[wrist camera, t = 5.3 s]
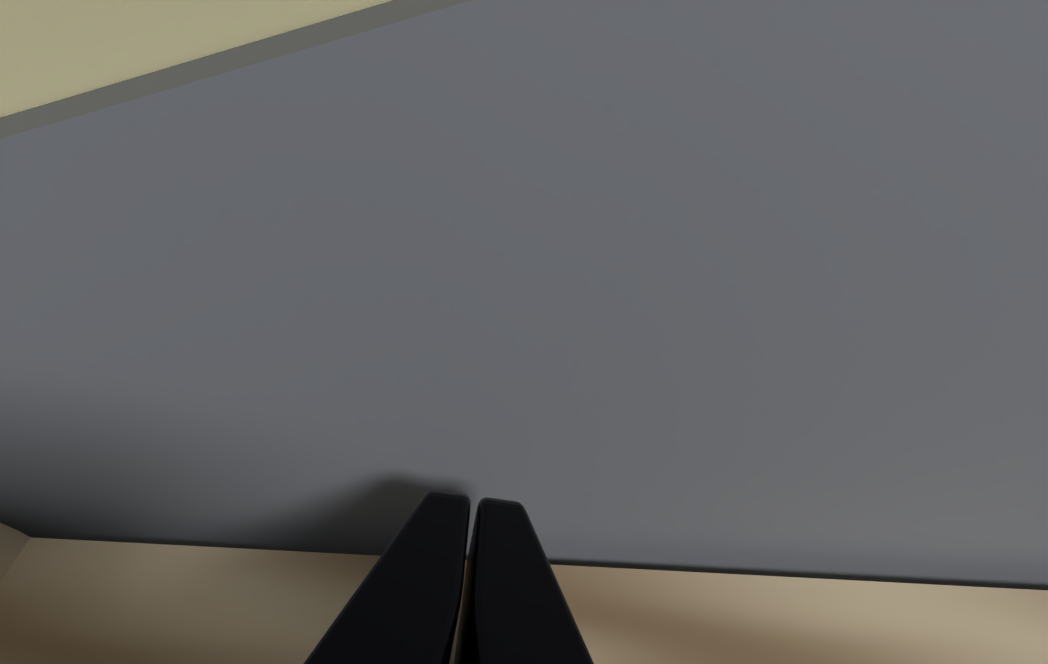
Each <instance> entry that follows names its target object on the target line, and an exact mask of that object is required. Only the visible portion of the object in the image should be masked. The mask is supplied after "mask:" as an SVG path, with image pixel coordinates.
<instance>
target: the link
mask: <svg viewBox="0 0 1048 664" xmlns="http://www.w3.org/2000/svg"><path fill="white" fill-rule="evenodd" d="M379 558H380V556H377V555H358V554H338V553H319V552H300V551H281V550H262V549H242V548H223V547H204V546H185V545H166V544H146V543H127V542H108V541H89V540H70V539H50V538H31V537H29V536H27V535H25V534H24V533H22V532H20V531H18V530H16V529H13V528H11V527H9V526H7V525H4V524H2V523H0V664H303V663H304V662H305V661H306V659H307V658H308V656H309V655H310V654H311V652H312V651H313V650H314V648H315V647H316V645H317V644H318V643H319V641H320V640H321V638H322V637H323V636H324V634H325V633H326V631H327V630H328V629H329V627H330V626H331V624H332V623H333V622H334V620H335V619H336V618H337V616H338V615H339V613H340V612H341V611H342V609H343V608H344V606H345V605H346V604H347V602H348V601H349V599H350V598H351V597H352V595H353V594H354V592H355V591H356V590H357V588H358V587H359V586H360V584H361V583H362V581H363V580H364V579H365V577H366V576H367V574H368V573H369V572H370V570H371V569H372V567H373V566H374V565H375V563H376V562H377V560H378V559H379ZM466 565H467V560H466V561H465V571H464V579H465V572H466ZM550 566H551V568H552V570H553V572H554V575H555V577H556V579H557V581H558V584H559V586H560V588H561V590H562V593H563V595H564V597H565V599H566V602H567V604H568V606H569V608H570V611H571V613H572V615H573V617H574V620H575V622H576V624H577V626H578V629H579V631H580V633H581V635H582V638H583V640H584V642H585V644H586V647H587V649H588V651H589V653H590V656H591V658H592V660H593V662H594V664H1048V590H1029V589H1010V588H991V587H972V586H953V585H933V584H914V583H895V582H876V581H857V580H837V579H818V578H799V577H780V576H761V575H741V574H722V573H703V572H684V571H665V570H645V569H626V568H607V567H588V566H569V565H550ZM463 587H464V581H463ZM462 595H463V591H462ZM461 603H462V597H461ZM460 611H461V604H460V610H459V615H458V620H457V626H456V631H455V636H454V641H453V646H452V652H451V657H450V662H449V664H454V658H455V650H456V642H457V634H458V626H459V619H460Z"/></svg>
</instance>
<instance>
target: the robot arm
mask: <svg viewBox="0 0 1048 664" xmlns="http://www.w3.org/2000/svg"><path fill="white" fill-rule="evenodd" d="M470 508H471V500H470V498H469V497H468V496H467V495H465V494H461V493H453V492H446V491H439V490H431V491H429V492H428V493H426V494H425V495H424V497H423V498H422V499H421V501H420V502H419V503H418V505H417V506H416V508H415V509H414V510H413V512H412V513H411V515H410V516H409V517H408V519H407V520H406V522H405V523H404V524H403V526H402V527H401V528H400V530H399V531H398V533H397V534H396V535H395V537H394V538H393V540H392V541H391V542H390V544H389V545H388V547H387V548H386V549H385V551H384V552H383V554H382V555H381V556H380V558H379V559H378V560H377V562H376V563H375V565H374V566H373V567H372V569H371V570H370V572H369V573H368V574H367V576H366V577H365V579H364V580H363V581H362V583H361V584H360V586H359V587H358V588H357V590H356V591H355V592H354V594H353V595H352V597H351V598H350V599H349V601H348V602H347V604H346V605H345V606H344V608H343V609H342V611H341V612H340V613H339V615H338V616H337V618H336V619H335V620H334V622H333V623H332V624H331V626H330V627H329V629H328V630H327V631H326V633H325V634H324V636H323V637H322V638H321V640H320V641H319V643H318V644H317V645H316V647H315V648H314V650H313V651H312V652H311V654H310V655H309V656H308V658H307V659H306V661H305V662H304V663H303V664H449V662H450V657H451V652H452V646H453V641H454V636H455V631H456V626H457V620H458V615H459V610H460V604H461V611H460V619H459V626H458V634H457V642H456V650H455V658H454V664H594V662H593V660H592V658H591V656H590V653H589V651H588V649H587V647H586V644H585V642H584V640H583V638H582V635H581V633H580V631H579V629H578V626H577V624H576V622H575V620H574V617H573V615H572V613H571V611H570V608H569V606H568V604H567V602H566V599H565V597H564V595H563V593H562V590H561V588H560V586H559V584H558V581H557V579H556V577H555V575H554V572H553V570H552V568H551V566H550V563H549V561H548V559H547V557H546V554H545V552H544V550H543V548H542V545H541V543H540V541H539V539H538V536H537V534H536V532H535V530H534V527H533V525H532V523H531V521H530V518H529V516H528V514H527V512H526V510H525V508H524V506H523V505H522V504H521V503H519V502H517V501H511V500H504V499H496V498H489V497H485V498H482V499H481V500H480V501H479V503H478V506H477V511H476V516H475V522H474V527H473V532H472V537H471V542H470V548H469V553H468V559H467V565H466V572H465V579H464V571H465V561H466V550H467V540H468V529H469V519H470ZM463 581H464V587H463ZM462 591H463V595H462ZM461 597H462V603H461Z"/></svg>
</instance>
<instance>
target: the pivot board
mask: <svg viewBox="0 0 1048 664" xmlns="http://www.w3.org/2000/svg"><path fill="white" fill-rule="evenodd" d="M431 490H439V491H446V492H453V493H461V494H465V495H467V496H468V497H469V498H470V500H471V508H470V519H469V529H468V540H467V550H466V560H467V559H468V553H469V548H470V542H471V537H472V532H473V527H474V522H475V516H476V511H477V506H478V503H479V501H480V500H481V499H482V498H485V497H489V498H496V499H504V500H511V501H517V502H519V503H521V504H522V505H523V506H524V508H525V510H526V512H527V514H528V516H529V518H530V521H531V523H532V525H533V527H534V530H535V532H536V534H537V536H538V539H539V541H540V543H541V545H542V548H543V550H544V552H545V554H546V557H547V559H548V561H549V563H550V565H569V566H588V567H607V568H626V569H645V570H665V571H684V572H703V573H722V574H741V575H761V576H780V577H799V578H818V579H837V580H857V581H876V582H895V583H914V584H933V585H953V586H972V587H991V588H1010V589H1029V590H1048V0H393V1H390V2H386V3H383V4H380V5H376V6H373V7H370V8H366V9H363V10H360V11H356V12H353V13H350V14H346V15H343V16H339V17H336V18H333V19H329V20H326V21H323V22H319V23H316V24H313V25H309V26H306V27H303V28H299V29H296V30H293V31H289V32H286V33H283V34H279V35H276V36H273V37H269V38H266V39H263V40H259V41H256V42H253V43H249V44H246V45H243V46H239V47H236V48H232V49H229V50H226V51H222V52H219V53H216V54H212V55H209V56H206V57H202V58H199V59H196V60H192V61H189V62H186V63H182V64H179V65H176V66H172V67H169V68H166V69H162V70H159V71H156V72H152V73H149V74H146V75H142V76H139V77H135V78H132V79H129V80H125V81H122V82H119V83H115V84H112V85H109V86H105V87H102V88H99V89H95V90H92V91H89V92H85V93H82V94H79V95H75V96H72V97H69V98H65V99H62V100H59V101H55V102H52V103H49V104H45V105H42V106H39V107H35V108H32V109H28V110H25V111H22V112H18V113H15V114H12V115H8V116H5V117H2V118H0V523H2V524H4V525H7V526H9V527H11V528H13V529H16V530H18V531H20V532H22V533H24V534H25V535H27V536H29V537H31V538H50V539H70V540H89V541H108V542H127V543H146V544H166V545H185V546H204V547H223V548H242V549H262V550H281V551H300V552H319V553H338V554H358V555H377V556H381V555H382V554H383V552H384V551H385V549H386V548H387V547H388V545H389V544H390V542H391V541H392V540H393V538H394V537H395V535H396V534H397V533H398V531H399V530H400V528H401V527H402V526H403V524H404V523H405V522H406V520H407V519H408V517H409V516H410V515H411V513H412V512H413V510H414V509H415V508H416V506H417V505H418V503H419V502H420V501H421V499H422V498H423V497H424V495H425V494H426V493H428V492H429V491H431Z"/></svg>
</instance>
